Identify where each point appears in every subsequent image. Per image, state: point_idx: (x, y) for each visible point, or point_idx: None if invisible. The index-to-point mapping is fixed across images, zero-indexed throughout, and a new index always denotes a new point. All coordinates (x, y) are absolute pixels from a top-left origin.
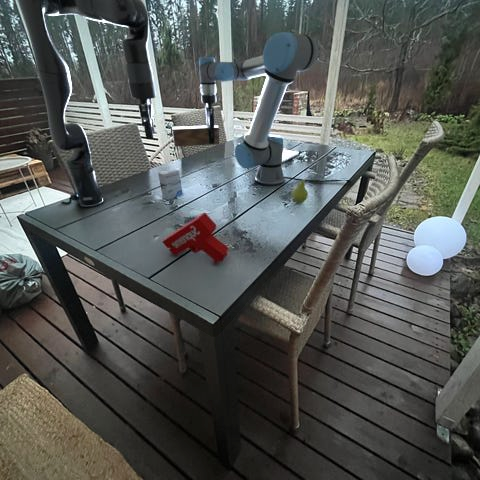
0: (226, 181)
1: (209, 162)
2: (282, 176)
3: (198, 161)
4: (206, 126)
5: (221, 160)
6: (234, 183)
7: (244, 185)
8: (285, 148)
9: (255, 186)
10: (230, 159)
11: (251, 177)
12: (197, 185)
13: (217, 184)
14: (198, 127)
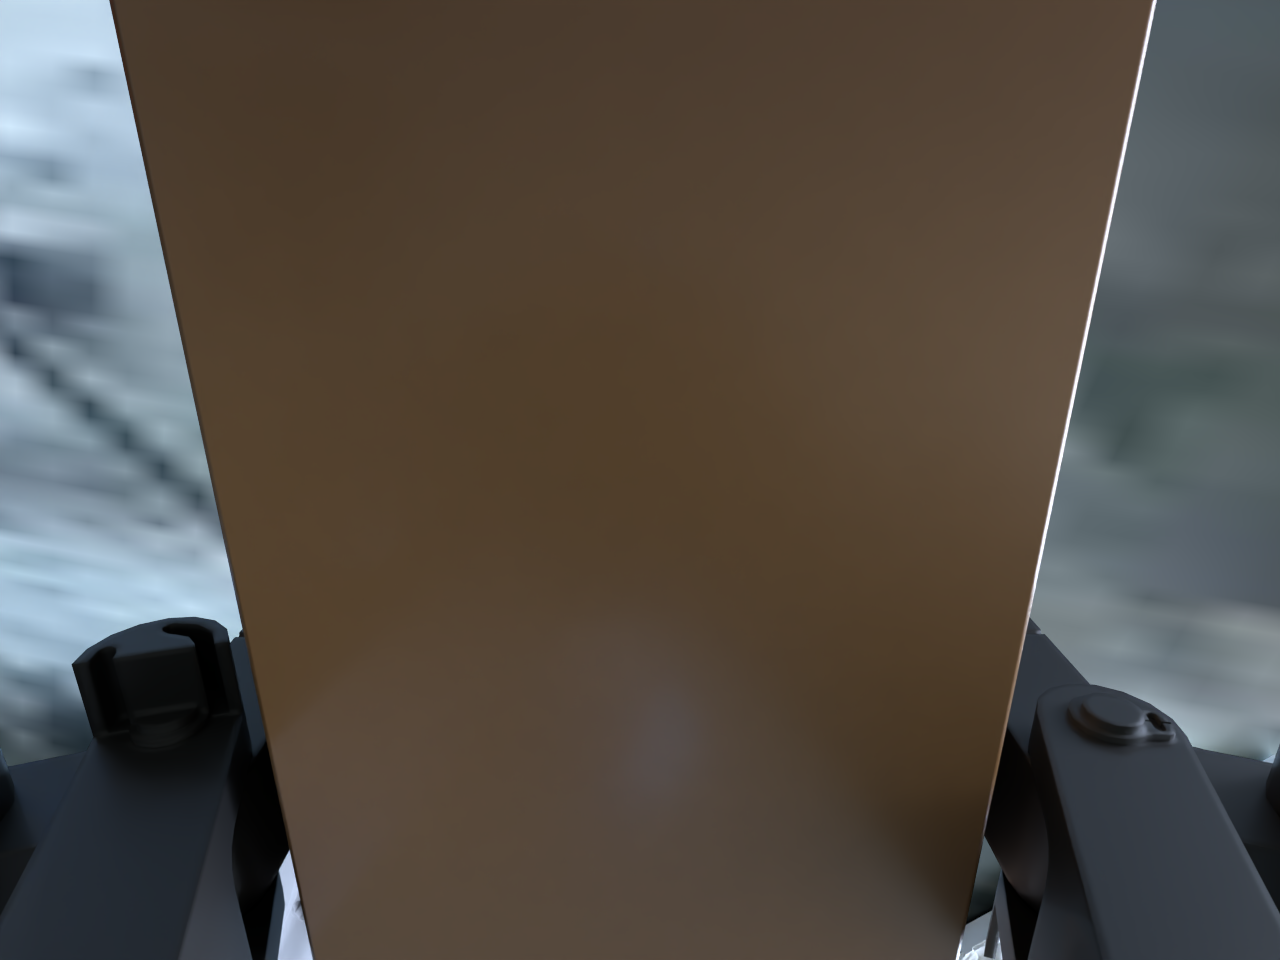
0: (205, 460)
1: (1115, 360)
2: None
3: (1264, 178)
4: (710, 702)
5: (1128, 551)
6: (127, 540)
7: (57, 631)
8: None
9: (26, 728)
10: (1114, 673)
11: None
12: (56, 15)
13: (95, 326)
14: (427, 51)
